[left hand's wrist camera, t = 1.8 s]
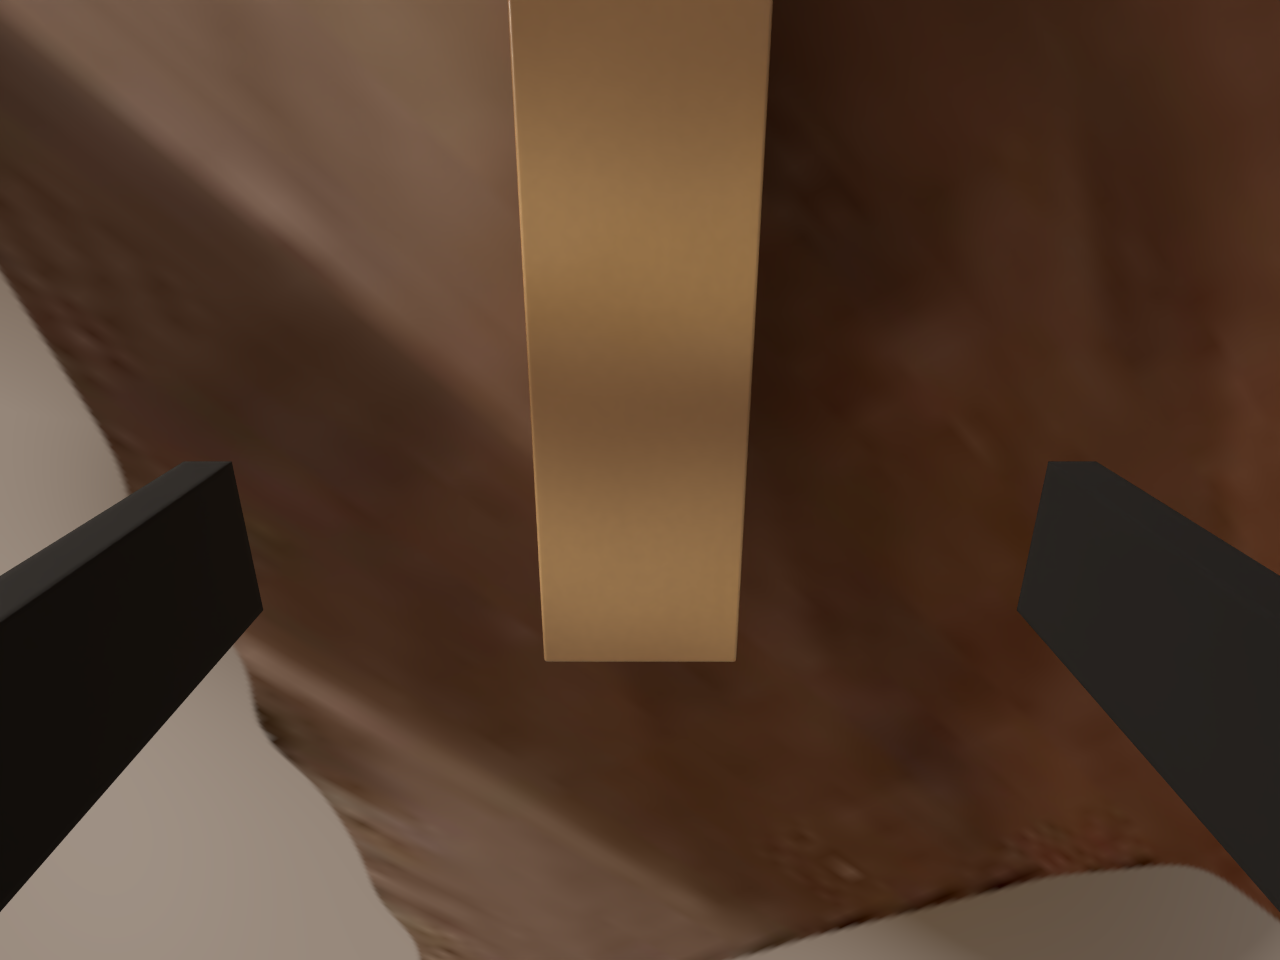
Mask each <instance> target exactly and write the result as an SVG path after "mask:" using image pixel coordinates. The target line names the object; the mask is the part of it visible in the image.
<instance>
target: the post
mask: <svg viewBox="0 0 1280 960" xmlns="http://www.w3.org/2000/svg"><path fill="white" fill-rule="evenodd" d="M772 12H773V0H508V16H509V34H510V52H511V70H512V88H513V106H514V124H515V142H516V160H517V178H518V196H519V214H520V232H521V250H522V268H523V286H524V304H525V322H526V340H527V358H528V376H529V394H530V412H531V430H532V448H533V466H534V484H535V502H536V519H537V537H538V555H539V573H540V591H541V609H542V627H543V645H544V659H545V661H547V662H734V661H735V660H736V655H737V638H738V620H739V602H740V584H741V566H742V548H743V530H744V512H745V495H746V477H747V459H748V441H749V423H750V405H751V387H752V369H753V352H754V334H755V316H756V298H757V280H758V262H759V244H760V226H761V209H762V191H763V173H764V155H765V137H766V119H767V101H768V84H769V66H770V48H771V30H772Z"/></svg>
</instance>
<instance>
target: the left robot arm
mask: <svg viewBox="0 0 1280 960" xmlns="http://www.w3.org/2000/svg"><path fill="white" fill-rule="evenodd" d="M262 611H263V607H262V602H261V597H260V593H259V588H258V583H257V579H256V574H255V569H254V565H253V560H252V555H251V550H250V546H249V541H248V536H247V532H246V527H245V522H244V518H243V513H242V508H241V504H240V499H239V494H238V489H237V485H236V480H235V475H234V471H233V466H232V462H182V463H181V464H179V465H178V466H176V467H174V468H173V469H171V470H170V471H168V472H166V473H165V474H163V475H162V476H160V477H158V478H157V479H155V480H154V481H152V482H150V483H149V484H147V485H146V486H144V487H142V488H141V489H139V490H138V491H136V492H134V493H133V494H131V495H129V496H128V497H126V498H125V499H123V500H122V501H120V502H118V503H117V504H115V505H113V506H112V507H110V508H109V509H107V510H105V511H104V512H102V513H101V514H99V515H97V516H96V517H94V518H93V519H91V520H89V521H88V522H86V523H85V524H83V525H81V526H80V527H78V528H77V529H75V530H73V531H72V532H70V533H68V534H67V535H65V536H64V537H62V538H60V539H59V540H57V541H56V542H54V543H52V544H51V545H49V546H48V547H46V548H44V549H43V550H41V551H40V552H38V553H36V554H35V555H33V556H32V557H30V558H28V559H27V560H25V561H24V562H22V563H20V564H19V565H17V566H15V567H14V568H12V569H11V570H9V571H7V572H6V573H4V574H3V575H1V576H0V912H1V910H2V909H3V908H4V907H5V906H6V905H7V903H8V902H9V901H10V900H11V899H12V898H13V897H14V895H15V894H16V893H17V892H18V891H19V890H20V889H21V887H22V886H23V885H24V884H25V883H26V882H27V881H28V879H29V878H30V877H31V876H32V875H33V874H34V872H35V871H36V870H37V869H38V868H39V867H40V866H41V864H42V863H43V862H44V861H45V860H46V859H47V858H48V856H49V855H50V854H51V853H52V852H53V851H54V850H55V848H56V847H57V846H58V845H59V844H60V843H61V842H62V840H63V839H64V838H65V837H66V836H67V835H68V833H69V832H70V831H71V830H72V829H73V828H74V827H75V825H76V824H77V823H78V822H79V821H80V820H81V819H82V817H83V816H84V815H85V814H86V813H87V812H88V810H89V809H90V808H91V807H92V806H93V805H94V804H95V802H96V801H97V800H98V799H99V798H100V797H101V796H102V794H103V793H104V792H105V791H106V790H107V789H108V787H109V786H110V785H111V784H112V783H113V782H114V781H115V779H116V778H117V777H118V776H119V775H120V774H121V773H122V771H123V770H124V769H125V768H126V767H127V766H128V765H129V763H130V762H131V761H132V760H133V759H134V758H135V757H136V755H137V754H138V753H139V752H140V751H141V750H142V749H143V747H144V746H145V745H146V744H147V743H148V742H149V741H150V739H151V738H152V737H153V736H154V735H155V734H156V732H157V731H158V730H159V729H160V728H161V727H162V726H163V724H164V723H165V722H166V721H167V720H168V719H169V718H170V716H171V715H172V714H173V713H174V712H175V711H176V710H177V708H178V707H179V706H180V705H181V704H182V703H183V702H184V700H185V699H186V698H187V697H188V696H189V695H190V693H191V692H192V691H193V690H194V689H195V688H196V687H197V685H198V684H199V683H200V682H201V681H202V680H203V679H204V677H205V676H206V675H207V674H208V673H209V672H210V670H211V669H212V668H213V667H214V666H215V665H216V664H217V662H218V661H219V660H220V659H221V658H222V657H223V656H224V654H225V653H226V652H227V651H228V650H229V649H230V648H231V646H232V645H233V644H234V643H235V642H236V641H237V640H238V638H239V637H240V636H241V635H242V634H243V633H244V632H245V630H246V629H247V628H248V627H249V626H250V625H251V623H252V622H253V621H254V620H255V619H256V618H257V617H258V615H259V614H260V613H261V612H262ZM1017 611H1018V612H1019V613H1020V614H1021V615H1022V617H1023V618H1024V619H1025V620H1026V621H1027V622H1028V623H1029V625H1030V626H1031V627H1032V628H1033V629H1034V630H1035V632H1036V633H1037V634H1038V635H1039V636H1040V637H1041V638H1042V640H1043V641H1044V642H1045V643H1046V644H1047V645H1048V646H1049V648H1050V649H1051V650H1052V651H1053V652H1054V653H1055V654H1056V656H1057V657H1058V658H1059V659H1060V660H1061V661H1062V662H1063V664H1064V665H1065V666H1066V667H1067V668H1068V669H1069V671H1070V672H1071V673H1072V674H1073V675H1074V676H1075V677H1076V679H1077V680H1078V681H1079V682H1080V683H1081V684H1082V685H1083V687H1084V688H1085V689H1086V690H1087V691H1088V692H1089V693H1090V695H1091V696H1092V697H1093V698H1094V699H1095V700H1096V702H1097V703H1098V704H1099V705H1100V706H1101V707H1102V708H1103V710H1104V711H1105V712H1106V713H1107V714H1108V715H1109V716H1110V718H1111V719H1112V720H1113V721H1114V722H1115V723H1116V724H1117V726H1118V727H1119V728H1120V729H1121V730H1122V731H1123V732H1124V734H1125V735H1126V736H1127V737H1128V738H1129V739H1130V741H1131V742H1132V743H1133V744H1134V745H1135V746H1136V747H1137V749H1138V750H1139V751H1140V752H1141V753H1142V754H1143V755H1144V757H1145V758H1146V759H1147V760H1148V761H1149V762H1150V763H1151V765H1152V766H1153V767H1154V768H1155V769H1156V770H1157V772H1158V773H1159V774H1160V775H1161V776H1162V777H1163V778H1164V780H1165V781H1166V782H1167V783H1168V784H1169V785H1170V786H1171V788H1172V789H1173V790H1174V791H1175V792H1176V793H1177V794H1178V796H1179V797H1180V798H1181V799H1182V800H1183V801H1184V802H1185V804H1186V805H1187V806H1188V807H1189V808H1190V809H1191V811H1192V812H1193V813H1194V814H1195V815H1196V816H1197V817H1198V819H1199V820H1200V821H1201V822H1202V823H1203V824H1204V825H1205V827H1206V828H1207V829H1208V830H1209V831H1210V832H1211V833H1212V835H1213V836H1214V837H1215V838H1216V839H1217V840H1218V842H1219V843H1220V844H1221V845H1222V846H1223V847H1224V848H1225V850H1226V851H1227V852H1228V853H1229V854H1230V855H1231V856H1232V858H1233V859H1234V860H1235V861H1236V862H1237V863H1238V864H1239V866H1240V867H1241V868H1242V869H1243V870H1244V871H1245V872H1246V874H1247V875H1248V876H1249V877H1250V878H1251V879H1252V881H1253V882H1254V883H1255V884H1256V885H1257V886H1258V887H1259V889H1260V890H1261V891H1262V892H1263V893H1264V894H1265V895H1266V897H1267V898H1268V899H1269V900H1270V901H1271V902H1272V903H1273V905H1274V906H1275V907H1276V908H1277V909H1278V910H1279V912H1280V576H1279V575H1277V574H1276V573H1274V572H1273V571H1271V570H1269V569H1268V568H1266V567H1265V566H1263V565H1261V564H1260V563H1258V562H1257V561H1255V560H1253V559H1252V558H1250V557H1248V556H1247V555H1245V554H1244V553H1242V552H1240V551H1239V550H1237V549H1236V548H1234V547H1232V546H1231V545H1229V544H1228V543H1226V542H1224V541H1223V540H1221V539H1220V538H1218V537H1216V536H1215V535H1213V534H1212V533H1210V532H1208V531H1207V530H1205V529H1204V528H1202V527H1200V526H1199V525H1197V524H1195V523H1194V522H1192V521H1191V520H1189V519H1187V518H1186V517H1184V516H1183V515H1181V514H1179V513H1178V512H1176V511H1175V510H1173V509H1171V508H1170V507H1168V506H1167V505H1165V504H1163V503H1162V502H1160V501H1159V500H1157V499H1155V498H1154V497H1152V496H1151V495H1149V494H1147V493H1146V492H1144V491H1142V490H1141V489H1139V488H1138V487H1136V486H1134V485H1133V484H1131V483H1130V482H1128V481H1126V480H1125V479H1123V478H1122V477H1120V476H1118V475H1117V474H1115V473H1114V472H1112V471H1110V470H1109V469H1107V468H1106V467H1104V466H1102V465H1101V464H1099V463H1098V462H1048V466H1047V471H1046V475H1045V480H1044V485H1043V489H1042V494H1041V499H1040V504H1039V508H1038V513H1037V518H1036V522H1035V527H1034V532H1033V536H1032V541H1031V546H1030V550H1029V555H1028V560H1027V565H1026V569H1025V574H1024V579H1023V583H1022V588H1021V593H1020V597H1019V602H1018V607H1017Z"/></svg>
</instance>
